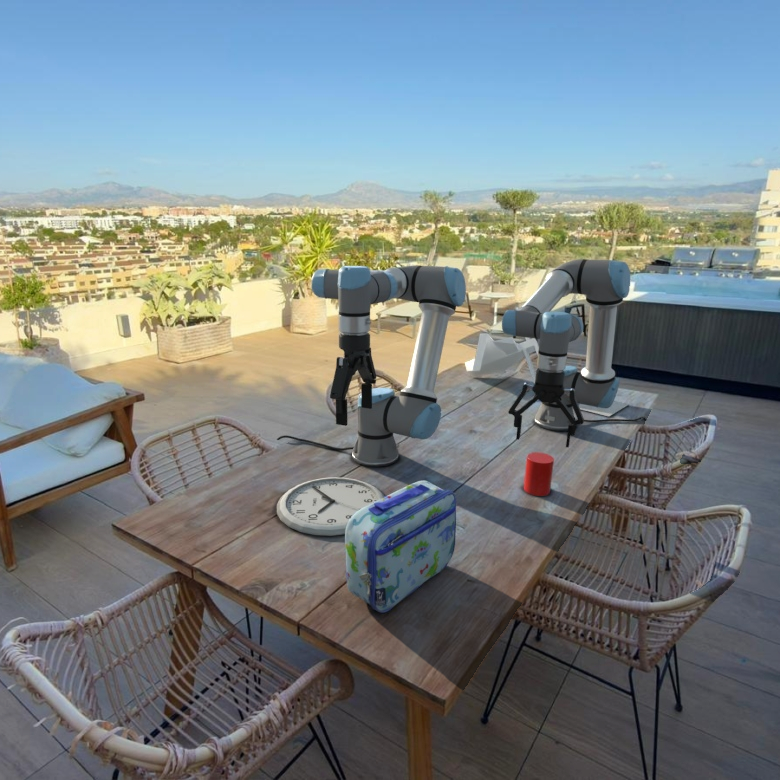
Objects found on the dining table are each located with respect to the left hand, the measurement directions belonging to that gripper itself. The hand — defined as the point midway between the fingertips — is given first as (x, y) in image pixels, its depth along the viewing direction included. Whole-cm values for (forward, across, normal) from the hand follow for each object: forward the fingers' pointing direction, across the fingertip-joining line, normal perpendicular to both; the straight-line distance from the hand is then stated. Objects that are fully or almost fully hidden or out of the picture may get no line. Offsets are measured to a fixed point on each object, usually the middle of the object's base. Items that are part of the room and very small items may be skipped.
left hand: (354, 415), depth 131 cm
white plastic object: (+27, +140, -10) cm, 143 cm away
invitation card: (+27, +123, -56) cm, 138 cm away
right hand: (+12, +34, -42) cm, 56 cm away
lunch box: (+27, -22, -23) cm, 42 cm away
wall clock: (+27, 0, +7) cm, 28 cm away
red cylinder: (+27, +34, -42) cm, 61 cm away
